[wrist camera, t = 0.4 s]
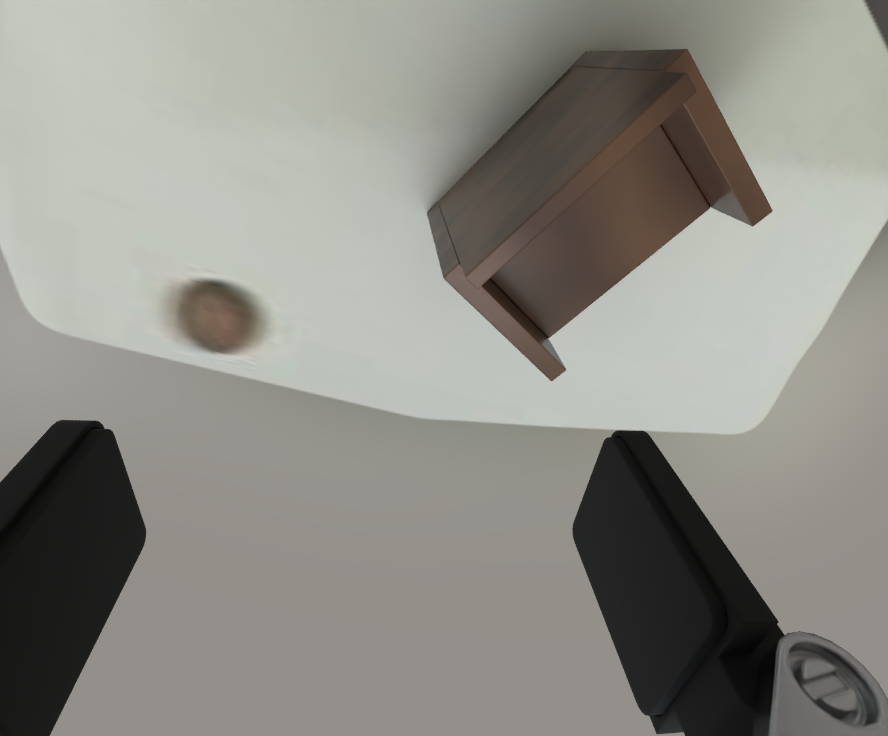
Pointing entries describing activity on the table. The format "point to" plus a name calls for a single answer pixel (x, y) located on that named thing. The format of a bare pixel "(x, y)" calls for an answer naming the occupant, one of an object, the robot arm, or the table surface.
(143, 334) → the table surface
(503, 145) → the shelf
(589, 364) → the table surface
